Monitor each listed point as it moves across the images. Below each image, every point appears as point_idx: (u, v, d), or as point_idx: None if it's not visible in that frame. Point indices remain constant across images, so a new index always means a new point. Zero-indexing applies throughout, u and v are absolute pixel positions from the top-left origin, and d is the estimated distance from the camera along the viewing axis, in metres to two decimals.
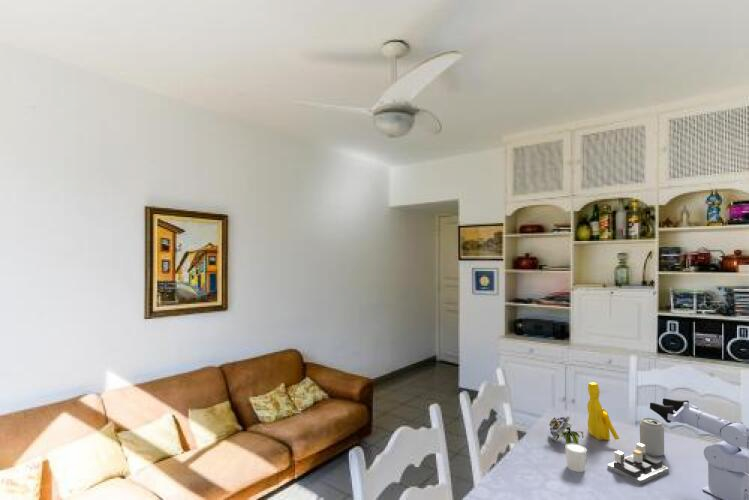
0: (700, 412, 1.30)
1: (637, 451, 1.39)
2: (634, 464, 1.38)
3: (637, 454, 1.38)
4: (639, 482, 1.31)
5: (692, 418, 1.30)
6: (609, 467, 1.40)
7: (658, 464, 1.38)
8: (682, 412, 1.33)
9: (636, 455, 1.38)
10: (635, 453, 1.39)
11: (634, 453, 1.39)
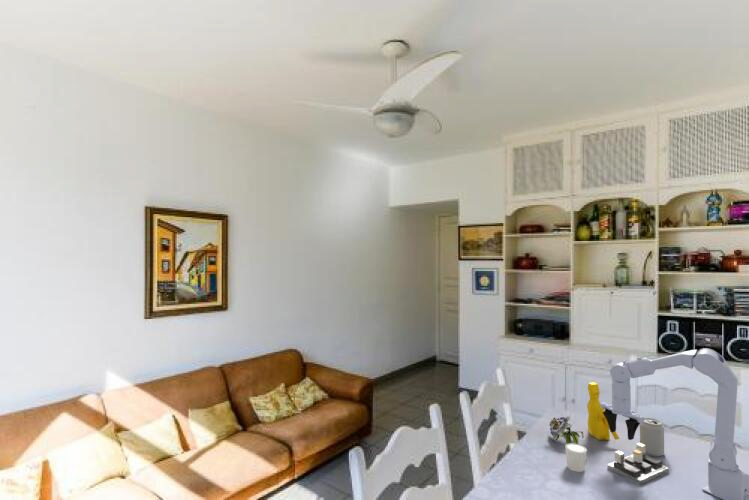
0: (618, 399, 1.42)
1: (637, 451, 1.39)
2: (634, 464, 1.38)
3: (637, 454, 1.38)
4: (639, 482, 1.31)
5: (627, 404, 1.41)
6: (609, 467, 1.40)
7: (658, 464, 1.38)
8: (626, 412, 1.41)
9: (636, 455, 1.38)
10: (635, 453, 1.39)
11: (634, 453, 1.39)
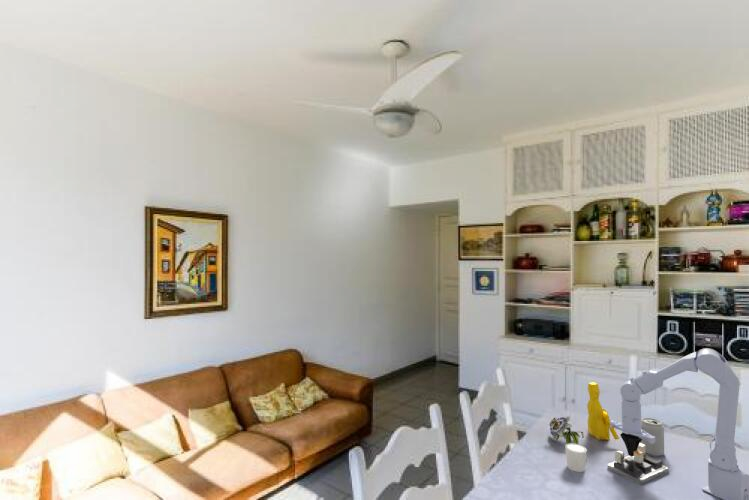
0: (628, 419, 1.39)
1: (638, 451, 1.39)
2: (634, 464, 1.38)
3: (638, 454, 1.38)
4: (639, 482, 1.31)
5: (638, 423, 1.38)
6: (609, 467, 1.40)
7: (658, 464, 1.38)
8: (636, 432, 1.38)
9: (637, 455, 1.38)
10: (636, 453, 1.38)
11: (635, 453, 1.39)
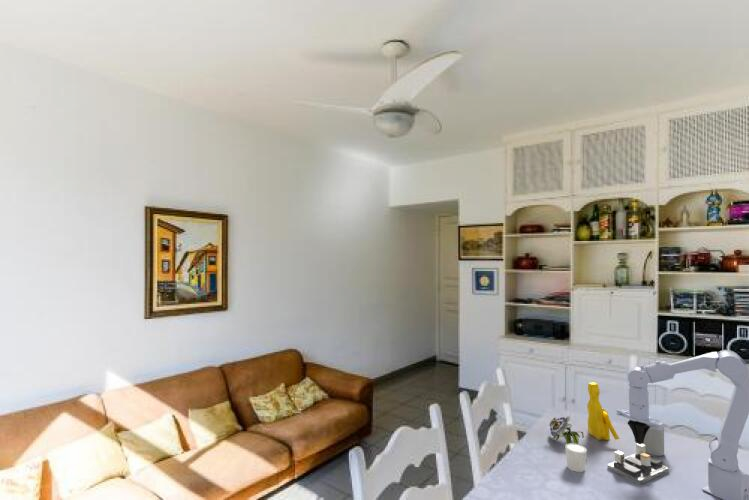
0: (635, 406, 1.37)
1: (645, 454, 1.37)
2: (634, 464, 1.38)
3: (645, 457, 1.36)
4: (639, 482, 1.31)
5: (645, 410, 1.36)
6: (609, 467, 1.40)
7: (658, 464, 1.38)
8: (644, 419, 1.35)
9: (644, 458, 1.36)
10: (643, 456, 1.36)
11: (642, 456, 1.37)
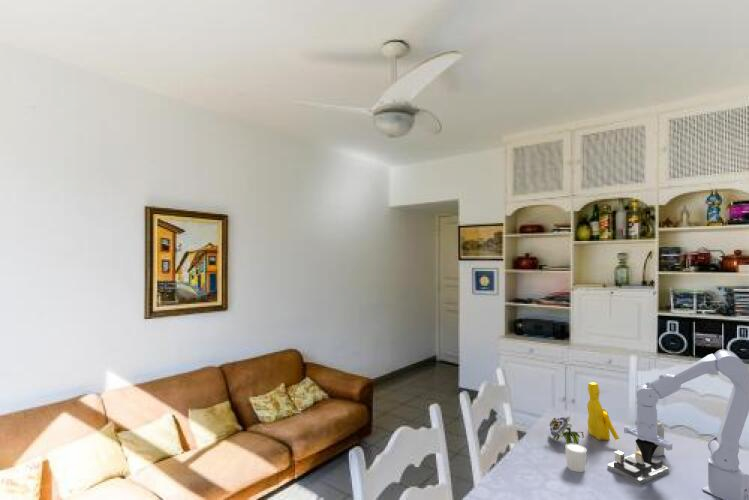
0: (643, 424, 1.34)
1: (640, 452, 1.38)
2: (634, 464, 1.38)
3: (640, 455, 1.37)
4: (639, 482, 1.31)
5: (654, 429, 1.33)
6: (609, 467, 1.40)
7: (658, 464, 1.38)
8: (652, 438, 1.33)
9: (639, 456, 1.37)
10: (638, 454, 1.38)
11: (637, 454, 1.38)
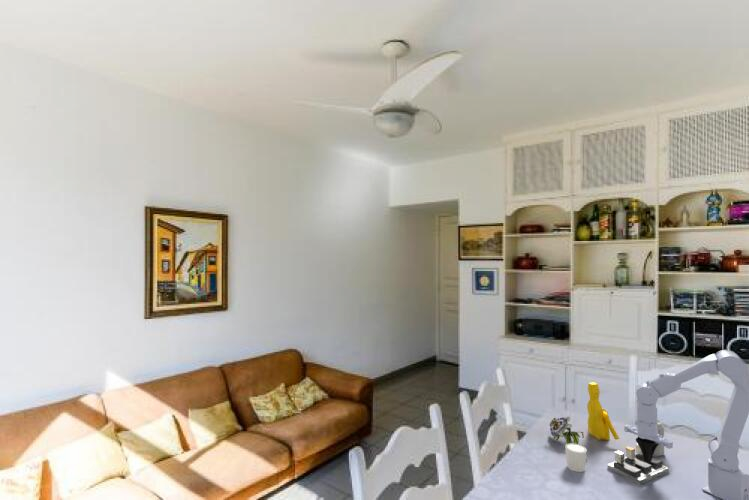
0: (644, 423, 1.35)
1: (630, 448, 1.41)
2: (634, 464, 1.38)
3: (630, 451, 1.40)
4: (639, 482, 1.31)
5: (654, 428, 1.34)
6: (609, 467, 1.40)
7: (658, 464, 1.38)
8: (653, 437, 1.33)
9: (629, 452, 1.41)
10: (628, 450, 1.41)
11: (627, 450, 1.41)
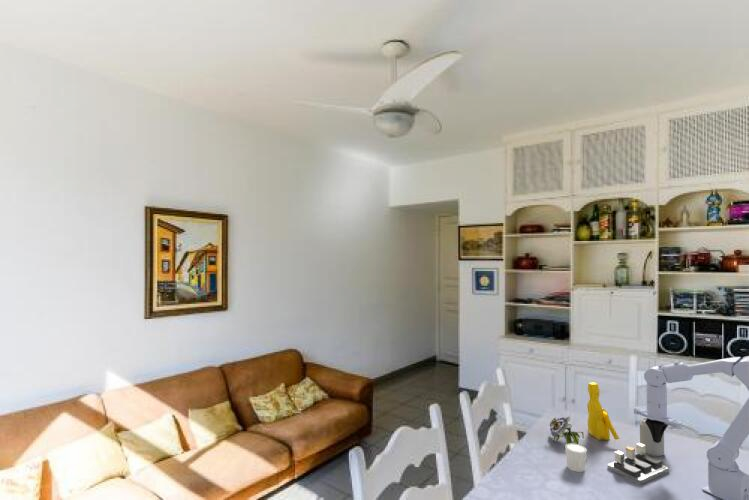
0: (653, 405, 1.37)
1: (630, 448, 1.41)
2: (634, 464, 1.38)
3: (630, 451, 1.40)
4: (639, 482, 1.31)
5: (664, 409, 1.36)
6: (609, 467, 1.40)
7: (658, 464, 1.38)
8: (662, 418, 1.36)
9: (629, 452, 1.41)
10: (628, 450, 1.41)
11: (627, 450, 1.41)
